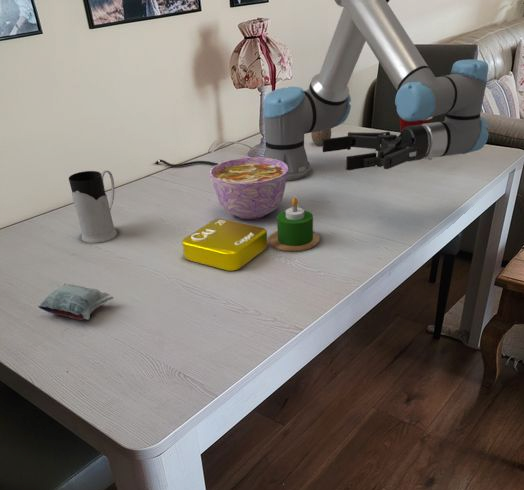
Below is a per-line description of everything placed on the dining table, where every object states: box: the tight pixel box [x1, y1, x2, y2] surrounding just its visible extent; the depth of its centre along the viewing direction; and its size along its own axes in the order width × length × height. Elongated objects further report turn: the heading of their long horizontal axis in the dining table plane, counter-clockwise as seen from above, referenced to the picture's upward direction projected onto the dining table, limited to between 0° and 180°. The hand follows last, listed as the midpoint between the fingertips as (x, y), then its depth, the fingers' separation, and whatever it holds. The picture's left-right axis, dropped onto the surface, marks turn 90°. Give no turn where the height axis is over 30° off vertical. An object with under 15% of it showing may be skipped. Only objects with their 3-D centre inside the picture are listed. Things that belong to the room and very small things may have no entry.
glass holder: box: [68, 170, 118, 244], centre depth 133 cm, size 9×14×15 cm, turn 158°
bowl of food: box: [209, 156, 289, 220], centre depth 139 cm, size 20×20×12 cm
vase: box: [310, 128, 332, 147], centre depth 187 cm, size 7×7×9 cm
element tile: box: [181, 218, 268, 272], centre depth 123 cm, size 15×15×5 cm
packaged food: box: [37, 283, 114, 321], centre depth 105 cm, size 9×12×5 cm
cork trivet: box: [268, 230, 320, 253], centre depth 128 cm, size 12×12×1 cm
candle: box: [276, 196, 314, 246], centre depth 125 cm, size 8×8×10 cm
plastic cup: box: [398, 115, 434, 132], centre depth 174 cm, size 11×11×12 cm
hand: (334, 154), depth 119 cm, fingers open, 13 cm apart
